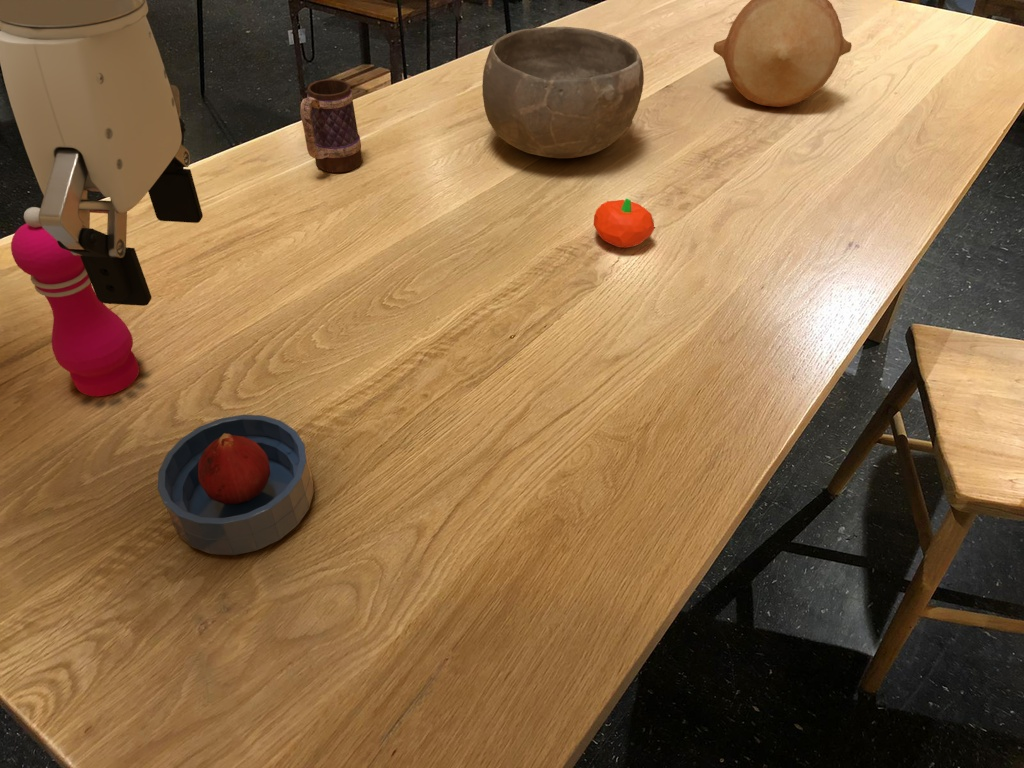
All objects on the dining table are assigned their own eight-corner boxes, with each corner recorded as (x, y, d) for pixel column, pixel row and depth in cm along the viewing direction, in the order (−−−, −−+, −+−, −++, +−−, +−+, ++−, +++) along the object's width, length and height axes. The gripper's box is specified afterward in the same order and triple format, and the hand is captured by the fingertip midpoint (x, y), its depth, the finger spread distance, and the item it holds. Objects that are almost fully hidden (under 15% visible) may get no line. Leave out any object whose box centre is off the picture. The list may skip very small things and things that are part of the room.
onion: (227, 534, 66) (204, 474, 60) (198, 494, 69) (174, 433, 63) (288, 500, 69) (271, 439, 63) (257, 462, 72) (239, 401, 66)
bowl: (666, 158, 120) (683, 61, 110) (541, 199, 110) (547, 96, 99) (572, 103, 134) (579, 12, 124) (454, 134, 124) (451, 39, 114)
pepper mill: (70, 363, 82) (-13, 196, 68) (142, 347, 84) (76, 182, 70) (71, 408, 77) (-18, 237, 63) (147, 389, 79) (77, 221, 65)
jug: (702, 39, 125) (701, 6, 149) (751, 139, 133) (743, 92, 157) (824, -34, 116) (802, -58, 140) (869, 77, 124) (841, 37, 148)
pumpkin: (607, 220, 106) (612, 177, 102) (658, 239, 103) (666, 196, 98) (580, 242, 102) (584, 199, 97) (633, 263, 98) (640, 219, 94)
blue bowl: (152, 555, 65) (134, 519, 61) (200, 448, 74) (186, 411, 70) (296, 562, 65) (286, 526, 61) (327, 453, 73) (319, 417, 70)
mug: (333, 148, 119) (321, 71, 111) (371, 158, 117) (363, 80, 109) (293, 176, 113) (278, 96, 104) (333, 187, 111) (322, 106, 102)
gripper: (68, -62, 46) (149, 191, 58) (-111, 41, 34) (38, 336, 46) (191, -55, 46) (247, 196, 58) (58, 50, 34) (163, 344, 46)
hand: (155, 258), depth 52 cm, fingers open, 9 cm apart
